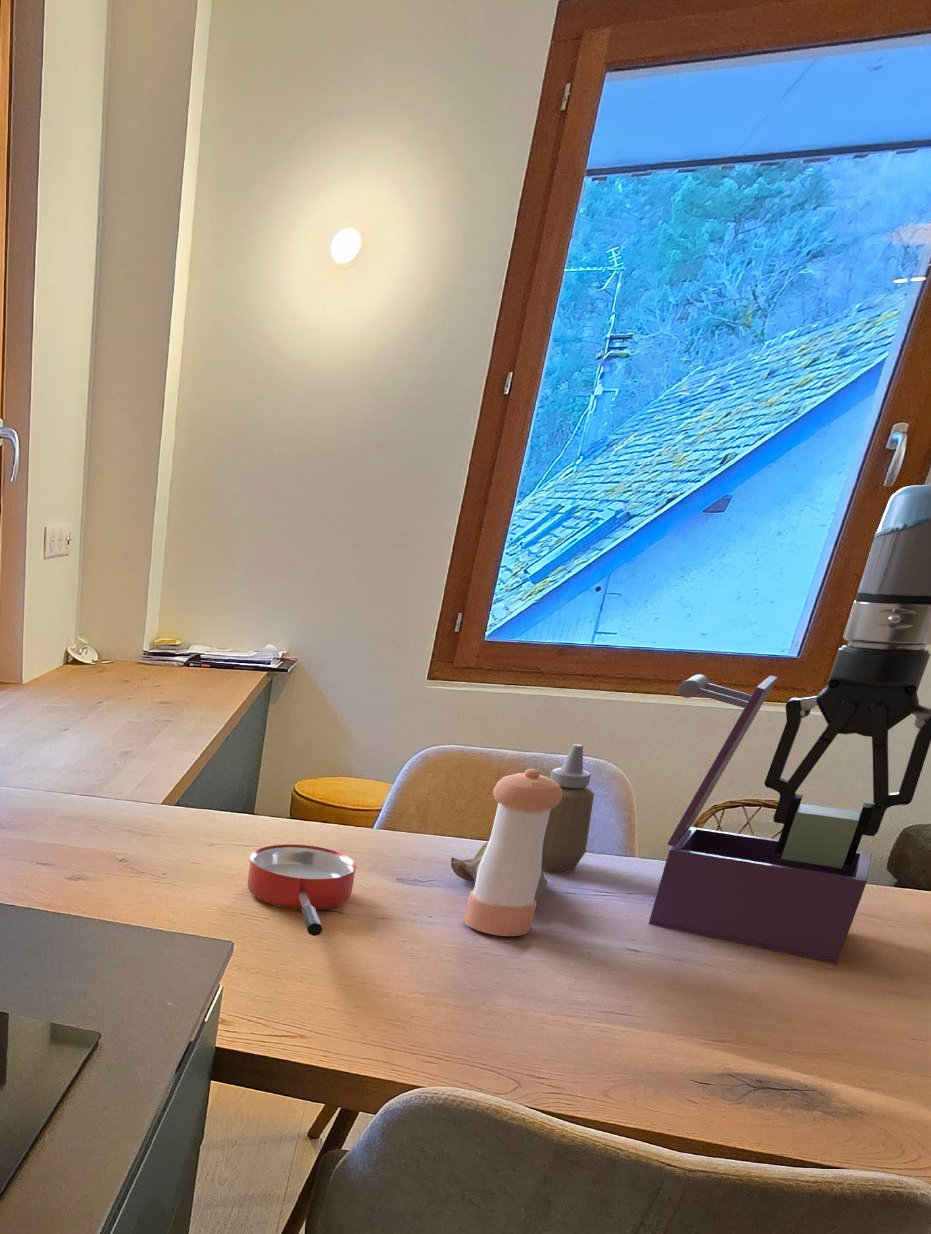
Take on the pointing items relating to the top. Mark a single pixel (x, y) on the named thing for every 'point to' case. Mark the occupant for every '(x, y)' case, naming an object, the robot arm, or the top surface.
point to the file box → (758, 895)
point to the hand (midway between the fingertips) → (813, 856)
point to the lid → (751, 708)
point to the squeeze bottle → (568, 816)
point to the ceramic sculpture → (470, 867)
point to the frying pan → (301, 879)
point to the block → (821, 835)
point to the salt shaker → (513, 855)
